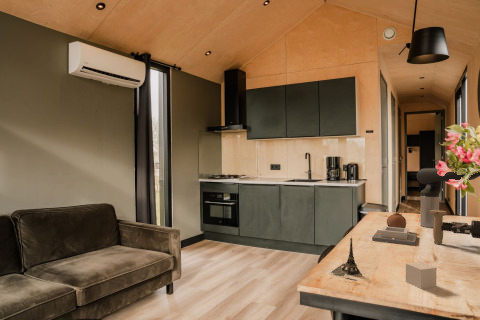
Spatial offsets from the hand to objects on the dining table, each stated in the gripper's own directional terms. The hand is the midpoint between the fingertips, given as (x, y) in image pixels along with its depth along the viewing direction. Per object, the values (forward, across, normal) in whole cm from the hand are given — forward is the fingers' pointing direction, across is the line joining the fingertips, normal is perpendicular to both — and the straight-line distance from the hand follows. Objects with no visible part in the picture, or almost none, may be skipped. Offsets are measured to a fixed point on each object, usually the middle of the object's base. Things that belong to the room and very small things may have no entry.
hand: (441, 226), depth 153 cm
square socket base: (+19, 0, +8) cm, 21 cm away
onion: (+20, -18, +9) cm, 28 cm away
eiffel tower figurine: (+28, +58, +9) cm, 65 cm away
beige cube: (+6, +59, +8) cm, 60 cm away
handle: (+1, 0, +8) cm, 8 cm away
